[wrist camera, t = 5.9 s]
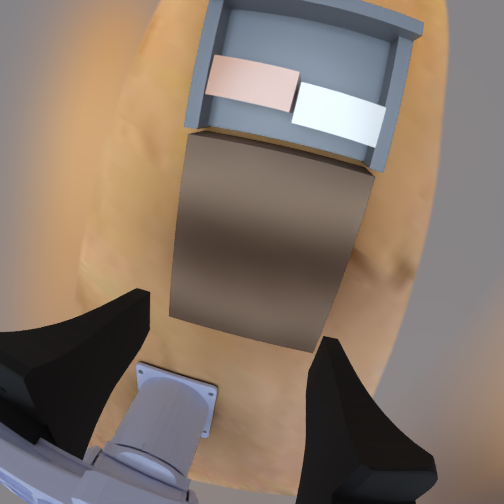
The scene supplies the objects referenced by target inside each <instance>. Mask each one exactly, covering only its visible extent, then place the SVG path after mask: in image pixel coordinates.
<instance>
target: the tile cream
mask: <svg viewBox="0 0 504 504" xmlns="http://www.w3.org/2000/svg"><path fill="white" fill-rule="evenodd" d="M385 111H386V107H383V106H380V105H377V104H374V103H372V102H369V101H366V100H363V99H360V98H357V97H353V96H350V95H347V94H344V93H340V92H337V91H334V90H330V89H327V88H323V87H319V86H316V85H312V84H308V83H304V82H301V86H300V90H299V94H298V98H297V102H296V106H295V110H294V114H293V118H292V122H291V123H294V124H298V125H301V126H305V127H309V128H313V129H316V130H320V131H323V132H327V133H330V134H333V135H337V136H340V137H343V138H347V139H350V140H353V141H356V142H359V143H362V144H365V145H368V146H371V147H374V148H375V147H376V144H377V140H378V137H379V133H380V130H381V126H382V122H383V119H384V115H385Z"/></svg>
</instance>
